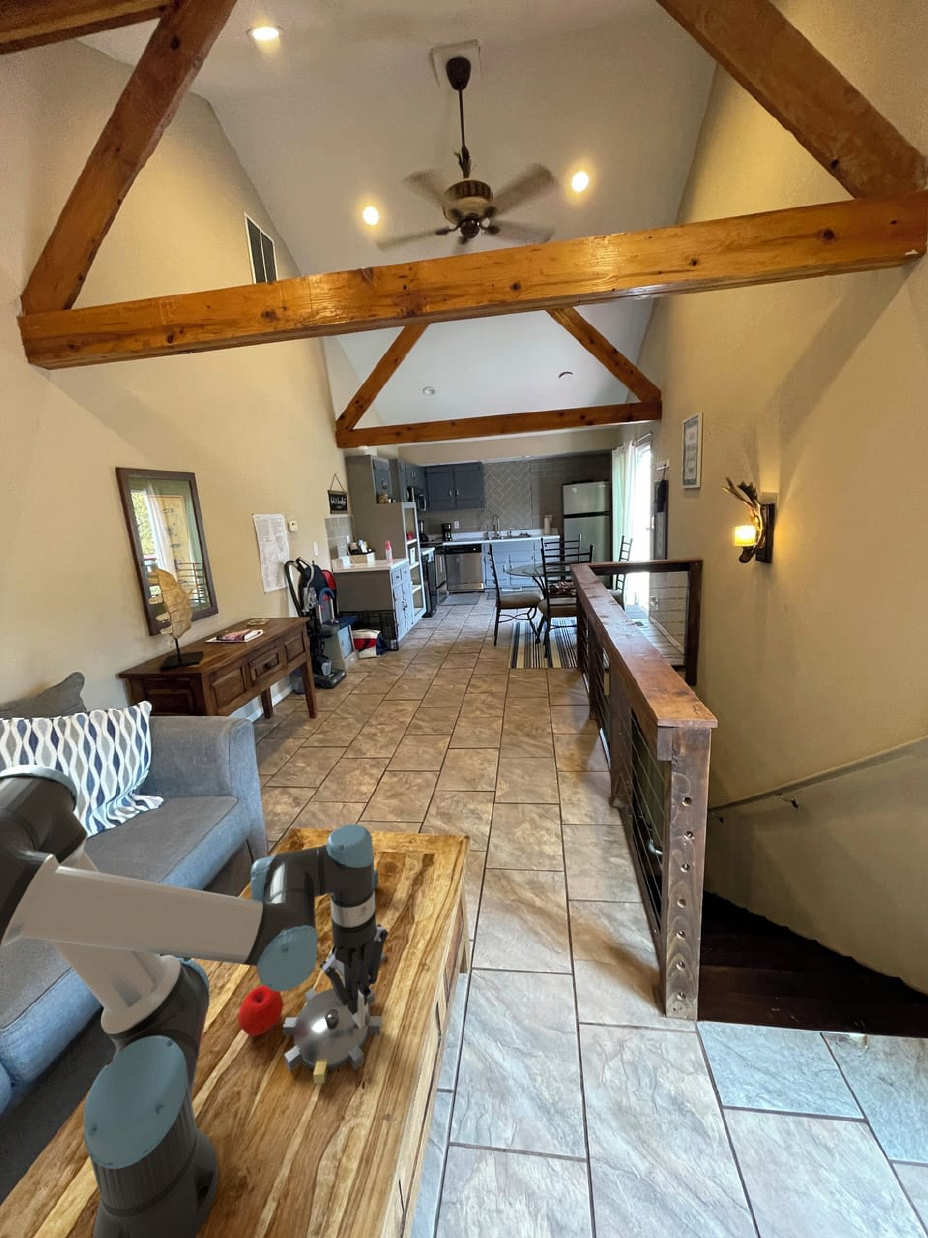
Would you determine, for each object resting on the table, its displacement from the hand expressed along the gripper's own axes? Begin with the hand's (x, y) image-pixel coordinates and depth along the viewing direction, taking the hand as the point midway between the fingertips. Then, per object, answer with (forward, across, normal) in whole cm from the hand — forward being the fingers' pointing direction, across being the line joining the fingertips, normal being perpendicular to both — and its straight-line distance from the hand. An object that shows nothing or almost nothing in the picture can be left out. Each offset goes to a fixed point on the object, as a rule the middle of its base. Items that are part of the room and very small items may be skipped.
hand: (358, 1021), depth 93 cm
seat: (+5, +9, +16) cm, 19 cm away
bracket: (+5, +20, +30) cm, 37 cm away
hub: (+5, -3, +5) cm, 7 cm away
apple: (+6, -12, +16) cm, 20 cm away
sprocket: (+5, -3, +5) cm, 7 cm away
